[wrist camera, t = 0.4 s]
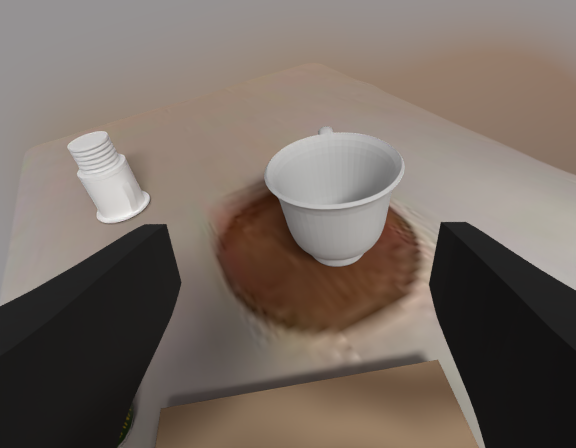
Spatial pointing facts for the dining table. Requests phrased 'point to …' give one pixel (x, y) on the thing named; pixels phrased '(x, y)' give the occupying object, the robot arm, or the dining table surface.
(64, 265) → the dining table surface
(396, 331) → the dining table surface
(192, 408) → the board
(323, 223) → the teacup
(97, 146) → the downlight
